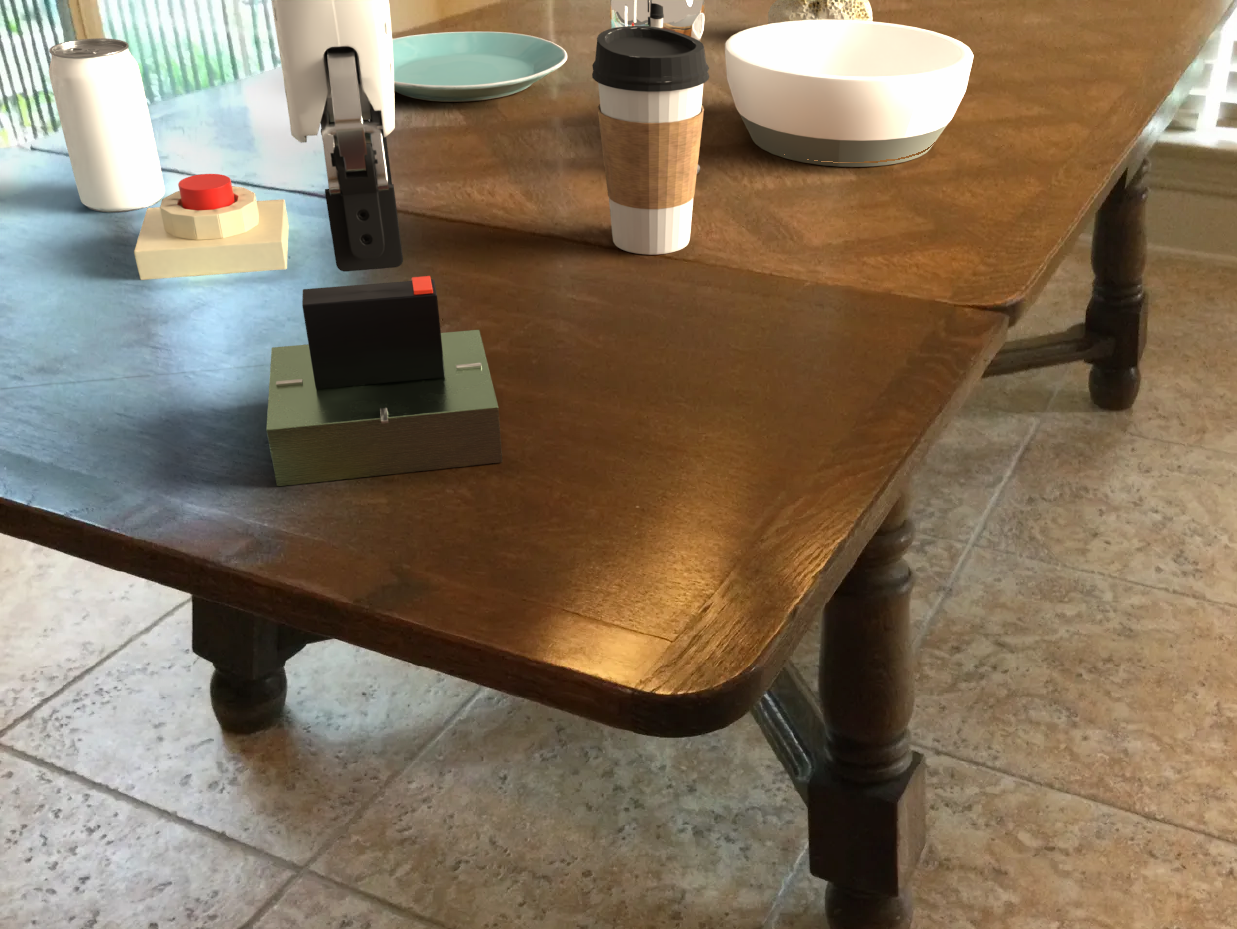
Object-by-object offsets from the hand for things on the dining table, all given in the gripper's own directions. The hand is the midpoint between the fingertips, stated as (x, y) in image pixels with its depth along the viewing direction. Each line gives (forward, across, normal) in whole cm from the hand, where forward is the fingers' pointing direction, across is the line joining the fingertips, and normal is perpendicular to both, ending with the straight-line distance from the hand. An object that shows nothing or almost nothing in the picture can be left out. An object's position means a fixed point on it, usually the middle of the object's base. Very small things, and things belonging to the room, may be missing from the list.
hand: (367, 232), depth 68 cm
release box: (+12, -30, -11) cm, 34 cm away
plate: (+12, -74, +11) cm, 76 cm away
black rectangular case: (+8, 0, 0) cm, 8 cm away
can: (+12, -43, -19) cm, 49 cm away
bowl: (+12, -48, +44) cm, 66 cm away
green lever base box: (+12, 0, 0) cm, 12 cm away
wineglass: (+12, -42, +25) cm, 50 cm away
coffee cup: (+12, -26, +21) cm, 35 cm away
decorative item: (+12, -85, +54) cm, 101 cm away
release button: (+8, -30, -11) cm, 33 cm away
